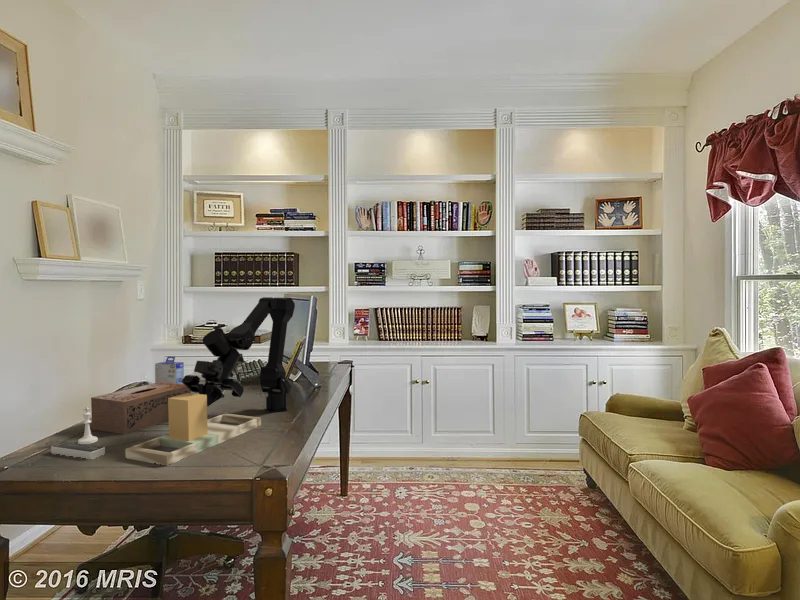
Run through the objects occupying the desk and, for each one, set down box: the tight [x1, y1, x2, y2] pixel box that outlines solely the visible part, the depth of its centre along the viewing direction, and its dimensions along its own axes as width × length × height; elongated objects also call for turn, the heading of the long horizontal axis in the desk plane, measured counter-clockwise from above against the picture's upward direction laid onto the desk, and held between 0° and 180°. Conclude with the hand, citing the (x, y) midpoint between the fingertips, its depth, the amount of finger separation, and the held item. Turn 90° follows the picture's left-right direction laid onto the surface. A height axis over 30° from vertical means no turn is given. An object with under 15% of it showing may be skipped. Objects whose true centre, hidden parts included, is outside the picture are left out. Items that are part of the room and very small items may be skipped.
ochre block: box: [168, 392, 208, 441], centre depth 144 cm, size 7×7×11 cm
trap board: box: [125, 413, 262, 466], centre depth 148 cm, size 37×14×2 cm, turn 158°
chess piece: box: [77, 406, 99, 445], centre depth 147 cm, size 5×5×10 cm
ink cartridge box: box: [154, 356, 185, 384], centre depth 209 cm, size 10×6×14 cm, turn 78°
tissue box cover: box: [90, 382, 192, 435], centre depth 169 cm, size 26×14×10 cm, turn 157°
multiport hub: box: [50, 441, 106, 460], centre depth 137 cm, size 4×14×2 cm, turn 70°
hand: (198, 410), depth 147 cm, fingers closed
